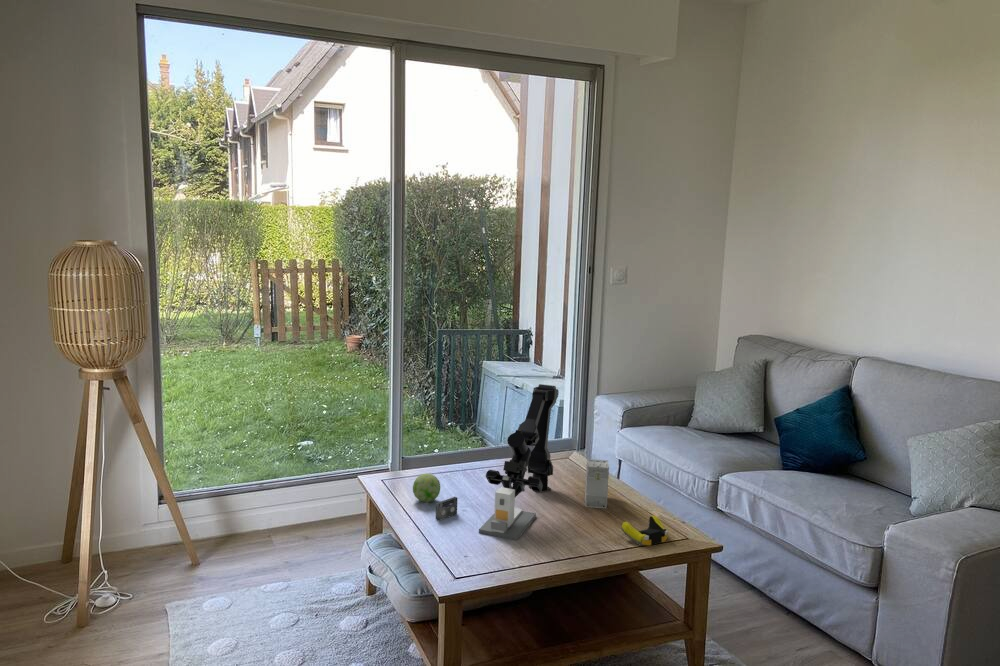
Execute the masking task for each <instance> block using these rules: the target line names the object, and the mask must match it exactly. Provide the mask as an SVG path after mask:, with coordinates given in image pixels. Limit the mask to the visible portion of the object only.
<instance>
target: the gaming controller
mask: <svg viewBox="0 0 1000 666" xmlns="http://www.w3.org/2000/svg"><path fill="white" fill-rule="evenodd" d="M648 520H649V521H648V528H646V529H643V530H638V529H636V528H634V527H633V526H632V524H630V522H628V521H624V522H622V525H621V531H622V532H623V535H624V536H625V535H626V537H628V539H630V540H631V541H634V542H635V543H637V545H639V544H640V545H639V546H650V547H651V546H652V545H656V543H657V544H660V542H661V543H665V542H666V540H667V539H668V536H669V535H668V533H669V530H668V529H667V528H665V527H664V524H663V523H662V522H661V520H660V517H658V516H656V515H650V516H649V519H648Z"/></svg>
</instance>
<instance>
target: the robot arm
mask: <svg viewBox="0 0 1000 666" xmlns="http://www.w3.org/2000/svg"><path fill="white" fill-rule="evenodd" d="M532 389H533V391H532V393H531V394H532V397H531V398H532V399H531V401H530V405H529V408H528V410H527V412H526V413H527V414H526V415H525V416H526V417H525V419H524V421H523V422H521V423H520V424H519V425H518V428H517V429H516V430H515V432H512V433H511V434H509V436H508V437H507V439H506V440H507V444H508V447H509V449H510V452H511V453H512V457H511V459H509V461H507V460H504V464H503V471H504V475H502V474H501V473H500V471H499V470H495V469H494V470H493V469H489V470H487V471H486V472H485V473H486V474H485V478H486V480H487V482H488V483H489V484H490V485H496V486H499V485H500V484H501V485H502V487H503V488H509V489H515V498H516V497H517V496H519V494H521V493H522V492H525V491H526V489H525V488H526V486H528V488H530V489H531V491H532V492H535V493H542V492H547V491H551V490H552V488H551V487H550V486H548V485H549V477H550V476H553V475H554V465H553V463H552V460H551V454H550V451H549V449H548V442H549V432H550V423H551V422H550V421H551V412H552V409H553V408H554V406H555V404H557V399H558V397H559V389H558V388H557V387H556V385H549V384H538V385H537V386H535V387H533V388H532ZM530 447H534V448H533V449H532V450H531V449H530ZM526 473H528V474H532V476H531V475H528V478H525V475H526Z"/></svg>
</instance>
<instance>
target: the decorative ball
mask: <svg viewBox="0 0 1000 666" xmlns="http://www.w3.org/2000/svg"><path fill="white" fill-rule="evenodd" d="M440 482H441V481H440V480H439V479H438V477H437V476H435V475H434V474H431V473H422V474H420V475H418V476H417V477H416V478H415V479H414V481H413V484H412V493H413V495H414V497H415V498H416V499H417V500H418V501H420V502H423V503H431V502H433V501H434V500H436V499H437V498H438V497H439V495H440V491H441V483H440Z"/></svg>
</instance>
